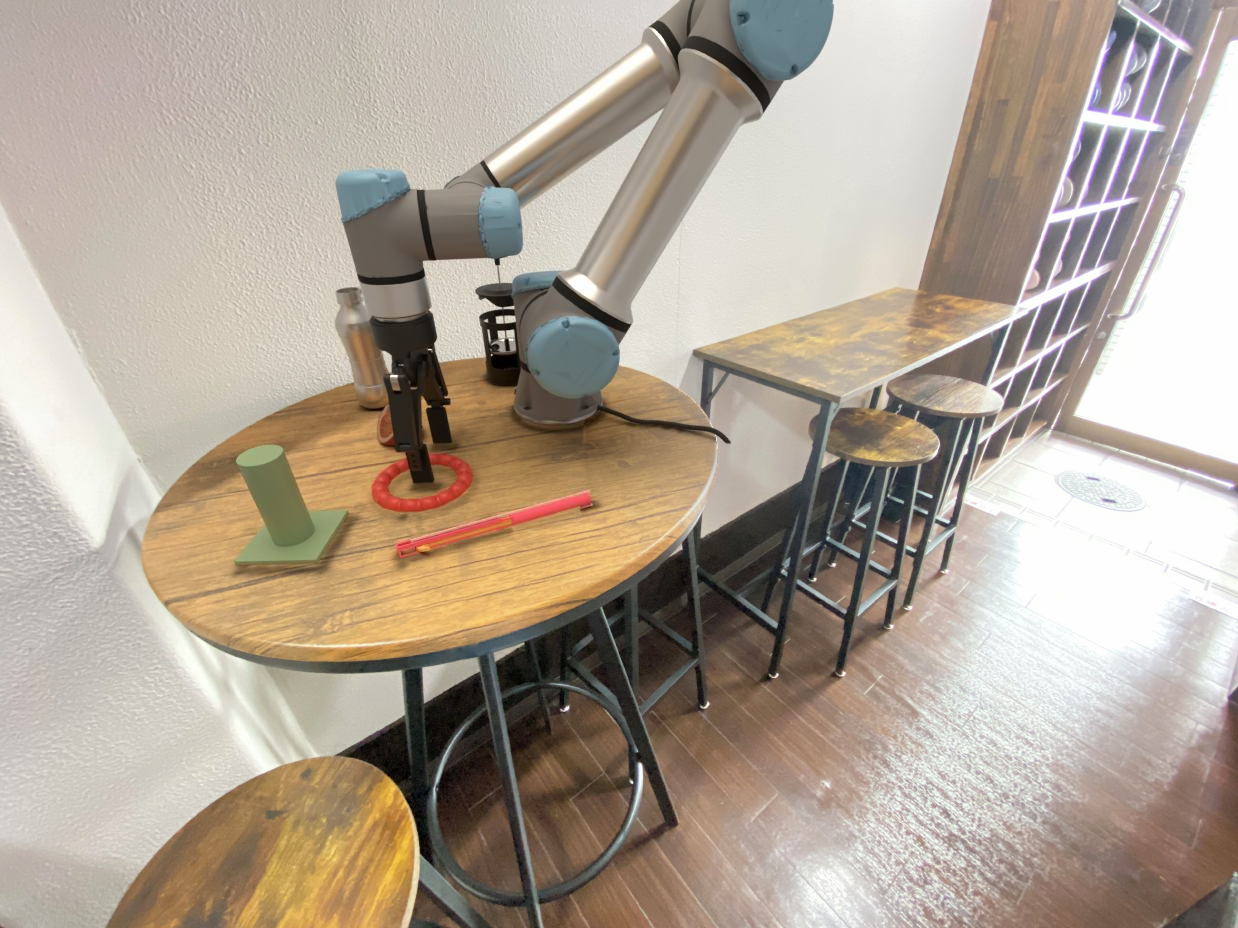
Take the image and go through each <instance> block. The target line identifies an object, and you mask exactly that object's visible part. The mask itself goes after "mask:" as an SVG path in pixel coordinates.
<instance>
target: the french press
mask: <svg viewBox="0 0 1238 928" xmlns="http://www.w3.org/2000/svg"><path fill="white" fill-rule="evenodd" d="M508 257H509V256H505V257H499V258H497V259H493V258H491V259H492V260H494V261H493V262H494V266H496V271H497V281H498V282H494V283H488V284H484V285H480V286H478V287H477V288H475V289H474V292H475V295H477V297H478V300H479V301H482V300H485V299H486V300H487V301H489V302H490V303H491V304H493V305H494V306H496V307H498V309H497V308H496V309H492V310H487V311H485V312H483V313H481V314H480V315H479V316H478V321H479V326H480V327H481V334H482V340H483V347H484V354H485V368H486V376H485V377H486V380H487V382H488V383H490V384H492V385H494V386H495V385H496V386H501V387H513V386H517V385H518V381H519V376H520V372H521V365H520V356H519V347H518V337H517V328H516V321H512V322H506V317H515V310H514V308H512V307H514V301H513V298H512V282H501V273H500V272H501V271H500V266H501V259H504V258H508ZM510 307H511V308H510ZM499 317H502V322H503V323H498V322H497V318H499ZM507 331H513V333H514V336H513V337H508V333H507ZM499 332H504V337H500V338H499Z"/></svg>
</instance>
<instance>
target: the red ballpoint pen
mask: <svg viewBox="0 0 1238 928" xmlns="http://www.w3.org/2000/svg"><path fill="white" fill-rule="evenodd" d="M590 493H591V489H588V490H583V491H581V492H577V493H573V494H570V495H566V496H562V497H559V498H555V499H551V500H548V501H545V502H541V503H537V504H533V505H530V506H526V507H523V508H520V509H519V508H518V509H516V510H511V511H508V512H504V513H501V514H496V515H492V516H489V517H485V518H482V519H478V520H475V521H471V522H466V523H463V524H460V525H457V526H453V527H448V528H445V529H442V530H439V531H435V532H432V533H428V534H424V535H420V536H416V537H414V538H410V539H406V540H403V541H399V542H395V547H396V551H397V553H398V555H399V558H404V557H408V556H411V555H414V554H418V553H422V552H423V553H424V552H428V551H431V549H435V548H439V547H442V546H446V545H450V544H452V543H456V542H459V541H462V540H463V541H464V540H466V539H469V538H473V537H477V536H481V535H484V534H487V533H491V532H493V531H499V530H503V529H507V528H509V527H514V526H515V525H518V524H522V523H525V522H529V521H532V520H536V519H539V518H543V517H546V516H550V515H553V514H557V513H560V512H563V511H564V512H565V511H566V510H570V509H574V508H577V507H579V510H583V509H586V508H589V507H593V503H592V497H591V495H590ZM409 549H412V550H413V551H412V552H408V553H404V554H402V551H406V550H409ZM415 550H416V551H415Z"/></svg>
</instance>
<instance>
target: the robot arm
mask: <svg viewBox="0 0 1238 928" xmlns="http://www.w3.org/2000/svg"><path fill="white" fill-rule="evenodd" d="M834 11H835V4H834V0H679V1H677V2H676V3H675V4H674V5H673V6H671V7H670V8H669V9H668V11H666V12H665V13H664V14H662V16H660V17H659V18H658V19H657V20H655V21H654V22H652V23H651V24H650V25H648V27H646V28H645V29H644V30H643V32H642V35H641V40H640V43H639V44H638V45H637V46H636V47H635V48H633V49H632V50H630V51H629V52H628V53H626V54H625V55H623V56H622V57H621V58H619V59H618V60H617V61H615V62H614V63H612V64H611V65H610V66H608V67H607V68H606V69H604V70H603V71H602V72H600V73H599V74H597V75H596V76H595V77H593V78H592V79H591V80H589V81H588V82H586V83H585V84H584V85H583V86H581V87H580V88H579V89H577V90H575V91H574V92H573V93H572V94H570V95H569V96H567V97H566V98H564V99H563V100H562V101H561V102H559V103H558V104H556V105H555V106H554V107H552V108H551V109H549V110H548V111H547V112H546V113H544V114H543V115H541V116H540V117H539V118H537V119H536V120H535V121H533V122H532V123H530V124H529V125H527V126H526V127H525V128H524V129H522V130H521V131H520V132H518V133H517V134H515V135H514V136H513V137H511V138H510V139H508V140H507V141H506V142H505V143H503V144H502V145H501V146H499V147H498V148H496V149H495V150H493V151H492V152H490V153H489V154H488V155H486V156H485V157H484V158H482V159H483V160H481V161H480V162H478V163H476V164H474V165H473V166H472V167H470V168H469V169H468V170H467V171H465V172H463V173H462V174H461V175H456V176H454V177H453V178H451V179H450V180H449V181H448V182H446V183H445V185H444V186H443V188H440V189H439V188H438V189H418V188H411V184H410V183H409V182H408V178H407V175H406V173H405V172H403V171H402V170H401V169H393V168H391V169H389V168H387V169H383V168H368V169H366V168H365V169H354V170H353V169H352V170H346V171H342V172H341V173H339V174H338V175H337V176H336V178H335V189H336V196H337V199H338V204H339V210H340V215H341V218H340V220H341V224H342V225H343V229H344V232H345V236H346V239H347V242H348V247H349V251H350V253H351V257H352V261H353V265H354V267H355V272H356V276H357V280H358V283H359V285H358V292H359V293H361V294H362V297H363V299H364V301H363V302H364V305H365V306H366V310H367V313H368V314H369V315H371V318H370V320H369V323H370V327H371V331H372V335H373V339H374V343H375V345H376V347H377V348H378V349H380V350H382V352H386V353H387V354H388V355H390V356H391V366H390V367H391V373H389V374H384V377H383V379H384V383H385V387H386V390H387V393H388V400H389V407H390V415H391V422H392V429H393V436H394V444H395V446H394V450H395V452H396V453H405V458H407V462H408V466H409V469H408V470H409V473H410V477H411V481H412V484H434V483H435V476H434V472H433V468H432V464H431V462H430V458H429V454H430V453H429V449H428V445H427V443H424V441H423V440H424V437H423V428H422V426H423V413H422V412H423V411H422V410H423V409H422V398H423V399H424V401H425V403H426V405H427V406H428V407H426V408H425V413H426V418H427V422H428V426H429V432H430V436H431V440H432V444H452V443H453V439H452V434H451V429H450V424H449V418H448V414H447V413H448V411H447V408H446V406H451V403H452V400H451V397H448V394H449V391H448V388H447V384H446V381H445V378H444V374H443V372H442V368H441V365H440V361H439V358H438V355H437V352H436V351H437V350H436V346H435V343H436V342H437V340H438V333H437V327H436V322H435V317H434V313H433V312H432V311H430V309H431V308H432V307H433V306H432V300H431V296H430V289H429V284H428V280H427V275H426V271H425V267H424V262H427V261H428V262H429V261H430V262H435V261H452V260H474V259H475V260H476V259H492V258H493V259H492V260H494V259H497V258H499V257H505V256H508V257H513V256H514V257H515V256H517V255H519V254H520V253H521V252H522V251H523V248H524V235H523V231H524V230H523V220H522V213H521V210H522V209H524V208H525V207H527V206H528V205H529V204H531V203H532V202H534V201H535V200H536V199H538V198H540V197H541V196H542V195H543V194H545V193H546V192H548V191H549V190H551V189H552V188H554V187H555V186H556V185H558V184H559V183H560V182H562V181H563V180H565V179H566V178H567V177H569V176H570V175H572V174H573V173H574V172H576V171H577V170H580V168H581V167H583V166H584V165H586V164H588V163H589V162H590V161H592V160H593V159H595V158H596V157H598V156H599V155H600V154H601V153H603V152H604V151H606V150H607V149H609V148H610V147H611V146H613V145H614V144H616V143H617V142H619V141H620V140H621V139H623V138H624V137H626V136H627V135H628V134H630V133H631V132H633V131H634V130H635V129H637V128H638V127H639V126H641V125H642V124H644V123H645V122H648V121H649V120H650V119H651V118H652V117H654V116H656V115H657V114H658V113H659V112H661V113H660V115H659V116H658V118H657V120H656V122H655V124H654V126H653V127H652V129H651V131H650V133H649V135H648V136H647V138H646V140H645V142H644V143H643V145H642V147H641V149H640V150H639V152H638V154H637V156H636V158H635V159H634V161H633V163H632V165H631V167H630V168H629V170H628V172H627V174H626V176H625V177H624V179H623V181H622V182H621V185H620V186H619V188H618V190H617V191H616V194H615V195H614V196H613V199H612V201H611V202H610V204H609V206H608V207H607V210H606V211H605V213H604V215H603V217H602V218H601V220H600V222H599V223H598V226H597V228H596V229H595V231H594V233H593V235H592V236H591V238H590V239H589V241H588V243H587V245H586V246H585V249H584V250H583V252H582V253H581V256H580V258H579V259H578V261H577V263H576V264H575V266H574V267H573V268H570V269H566V270H544V271H533V272H526V273H521V274H518V275H516V276H515V277H514V278H513V279H512V282H511V283H512V298H513V301H514V306H513V309H514V310H515V316H514V317H515V319H514V320H515V322H516V328H517V337H518V347H519V356H520V365H521V372H520V376H519V381H518V385H516V388H515V389H514V392H513V396H514V398H513V409H514V412H515V414H516V416H518V418H520V419H522V420H524V421H526V422H528V423H531V424H535V425H541V426H548V427H549V426H550V427H557V426H558V427H559V426H570V425H575V424H579V423H582V422H583V425H584V426H585V425H587V424H589V423H591V422H593V421H595V420H596V419H598V417H600V416H601V414H602V412H603V413H605V414H609V415H612V416H615V417H618V418H620V419H622V420H625V421H627V422H630V423H633V424H637V425H644V426H661V427H669V428H676V429H681V430H686V431H698V432H699V431H700V432H707V433H710V434H712V435H713V434H714V435H715V436H717V437H718V438H720V439H721V440H722V442H724V443H725V444H727V445H731V444H732V441H731V440H730V439H729V438H728V437H727V436H726V434H724V433H723V432H721V431H720V430H719V429H717V428H715V427H711V426H708V425H707V426H706V425H698V424H697V425H695V424H687V423H681V422H675V421H668V420H660V419H641V418H637V417H632V416H630V415H628V414H625V413H623V412H620V411H618V410H615V409H612V408H610V407H607V406H604V401H603V400H604V399H603V395H602V392H601V391H602V390H604V389H605V388H606V387H607V386H608V385H609V384H610V383H611V382H612V381H613V379H614V378H615V377H616V374H617V372H618V369H619V366H620V361H621V350H620V344H621V342H622V341H623V340H624V337H625V336H626V335H627V333H628V331H629V330H630V328H631V326H632V325H633V323H634V317H633V316H634V315H633V312H632V304H633V301H634V300H635V298H636V296H637V295H638V293H639V291H641V289H642V287H643V285H644V283H645V282H646V280H647V278H648V277H649V275H650V273H651V272H652V270H653V269H654V267H655V266H656V264H657V262H658V261H659V259H660V257H661V256H662V254H663V253H664V251H665V249H666V248H667V246H668V244H669V243H670V241H671V239H672V238H673V236H674V235H675V233H676V232H677V229H678V228H679V227H680V226H681V223H682V222H683V220H684V218H685V217H686V215H687V213H688V212H689V210H690V208H692V205H693V203H694V202H695V200H696V199H697V197H698V195H699V194H700V192H701V191H702V189H703V187H704V186H705V185H706V182H707V181H708V179H709V178H710V176H711V175H712V173H713V171H714V169H715V168H716V166H717V165H718V163H719V162H720V160H721V158H722V157H723V155H724V153H725V152H726V150H727V149H728V147H729V146H730V143H732V142H731V141H732V140H733V138H734V137H735V136H736V134H737V132H738V130H739V129H740V128H741V127H742V126H743V125H746V124H750V123H754V122H757V121H760V120H761V119H762V116H763V115H764V114H765V112H766V111H767V109H768V108H769V106H770V104H771V103H772V101H773V99H774V98H775V96H776V95H777V93H778V92H779V90H780V89H781V87H782V86H783V83H784V82H785V81H791V80H793V79H794V78H796V77H798V76H800V75H801V74H802V73H804V72H805V71H806V70H807V69H808V68H810V67H811V66H812V64H813V63H814V62H815V61H816V60H817V59H818V57H819V56H820V54H821V52H822V51H823V49H824V47H825V45H826V43H827V40H828V37H829V35H830V32H831V28H832V24H833V19H834ZM505 258H506V257H505Z"/></svg>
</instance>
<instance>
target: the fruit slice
mask: <svg viewBox="0 0 1238 928" xmlns="http://www.w3.org/2000/svg"><path fill="white" fill-rule="evenodd" d="M376 427H377V428H376V436H377V440H378V442H379V443H380V444H382V445H385V446H389V447H395V444H394V436H393V429H392V422H391V415H390V407H389V405H388V404H387V405H386V406H385V407H383V410H382V411H381V412H380V414H379V416H378V420H377V426H376ZM423 428H424V426H423V425H422V429H423Z"/></svg>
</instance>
